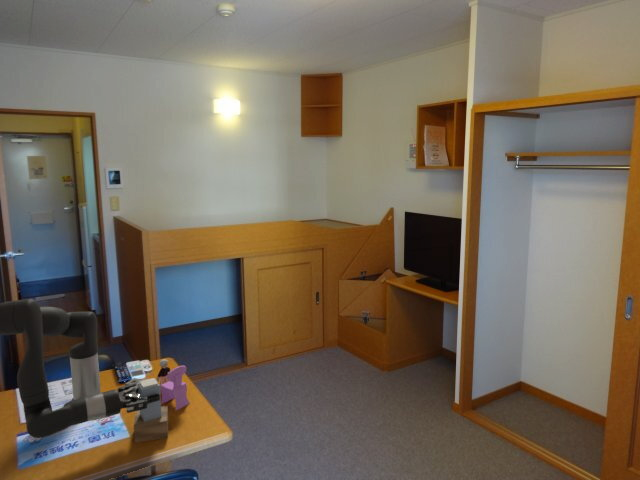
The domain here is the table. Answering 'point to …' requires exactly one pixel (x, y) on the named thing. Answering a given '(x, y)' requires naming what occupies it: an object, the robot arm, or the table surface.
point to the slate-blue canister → (153, 408)
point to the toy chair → (175, 388)
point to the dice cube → (133, 382)
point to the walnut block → (151, 427)
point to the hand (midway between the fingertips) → (155, 391)
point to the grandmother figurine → (163, 372)
